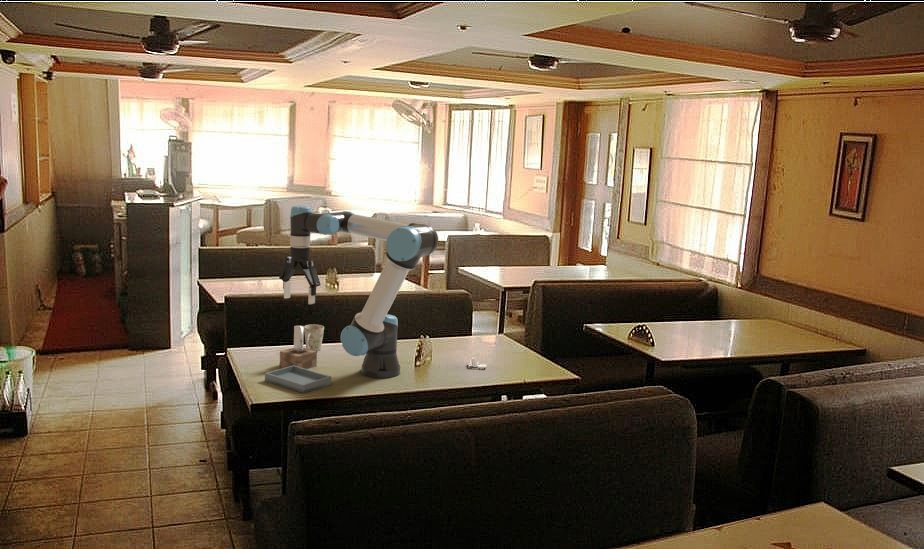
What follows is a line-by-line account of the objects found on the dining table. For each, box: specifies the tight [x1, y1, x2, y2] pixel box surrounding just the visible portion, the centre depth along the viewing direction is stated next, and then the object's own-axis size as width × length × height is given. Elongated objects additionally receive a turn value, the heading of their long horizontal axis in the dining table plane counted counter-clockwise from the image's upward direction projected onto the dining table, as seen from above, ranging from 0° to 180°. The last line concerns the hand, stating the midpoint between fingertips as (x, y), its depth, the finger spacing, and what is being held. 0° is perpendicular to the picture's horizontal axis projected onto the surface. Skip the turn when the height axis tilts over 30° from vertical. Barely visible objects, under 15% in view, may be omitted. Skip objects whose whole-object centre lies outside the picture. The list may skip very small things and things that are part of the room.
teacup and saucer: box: [469, 356, 488, 370], centre depth 310 cm, size 9×8×4 cm
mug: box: [303, 323, 325, 352], centre depth 320 cm, size 8×13×10 cm, turn 174°
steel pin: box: [293, 325, 305, 354], centre depth 297 cm, size 4×4×16 cm
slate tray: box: [264, 365, 333, 394], centre depth 278 cm, size 20×14×3 cm
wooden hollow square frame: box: [279, 347, 318, 370], centre depth 298 cm, size 10×10×6 cm
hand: (299, 300), depth 294 cm, fingers open, 13 cm apart
